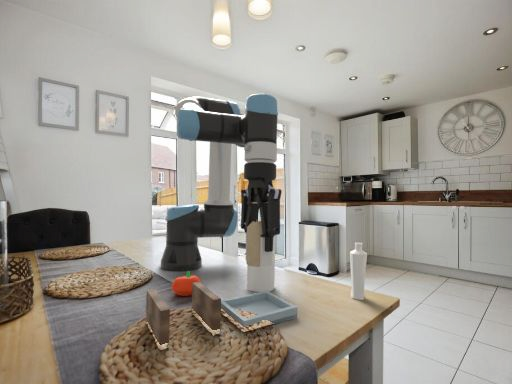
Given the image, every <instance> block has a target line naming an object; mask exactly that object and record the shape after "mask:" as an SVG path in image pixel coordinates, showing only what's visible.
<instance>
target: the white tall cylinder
mask: <svg viewBox="0 0 512 384" xmlns="http://www.w3.org/2000/svg"><path fill="white" fill-rule="evenodd" d="M275 262H276V235H275V236H274V237H273V251H272V266H265V267H254V266H249V265H247V264H246V265H247V266H246V269H247V270H246V289H247V290H249V291H251V292H255V293H259V292H264V291H268V292H272V291H274V289H275V277H276V276H275V274H276V273H275V270H276V268H275V267H276V266H275V265H276V263H275Z"/></svg>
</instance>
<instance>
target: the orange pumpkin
mask: <svg viewBox="0 0 512 384" xmlns="http://www.w3.org/2000/svg"><path fill="white" fill-rule="evenodd" d="M194 282H200V283H201V284H202V281H201V279H200V278H199V277H198V276H197V275H193V274H191V271H190V270H186V275H183V276H179V277H176V278H175V279H174V280H173V282H172V283H171V290H172V292H173V293H174V294H176V295H177V296H181V297H190V296H192V283H194Z"/></svg>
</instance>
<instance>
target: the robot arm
mask: <svg viewBox="0 0 512 384" xmlns="http://www.w3.org/2000/svg"><path fill="white" fill-rule="evenodd" d="M174 111H175V112H174V113H175V117H176V136H177V138H178V139H180V140H184V141H185V140H186V141H190V142H195V141H196V142H208V143H209V154H208V155H209V161H208V163H209V164H208V190H207V193H208V194H207V199H206V200H205V201H204V203H203V207H200V206H199V204H198V203H194V204H193V203H192V204H191V203H190V204H183V205H174V206H171V207H169V208H168V209H167V212H166V219H165V221H166V235H165V236H166V239H165V241H166V242H165V243H166V244H165V248H164V251H163V254H162V256H161V259H160V268H161V269H162V270H165V271H173V272H177V271H179V272H181V271H182V272H183V271H190V270H195V269H198V268H200V267H202V265H203V264H202V263H203V261H202V260H203V259H202V255H201V252H200V250H199V249H200V248H199V245H198V242H199V241H198V239H200V238H226V237H227V238H229V237H231V236H233V235H234V233H235V232H236V229H237V225H238V218H239V216H238V213H239V212H238V209H237V208H236V207H234V203H233V202H232V201H231V176H232V175H231V170H232V169H231V168H232V166H231V165H232V145H234V146H237V147H238V148H243V150H244V161H245V162H246V163H244V165H243V178H244V179H245V180H247V181H248V184H247V188H246V189H241V190H240V195H241V209H240V210H241V211H240V229H241V230H244V232H245V255H246V254H247V227H248V226H249V225H250V224H251V223H252V222H253V221H254V222H258V218H259V215H260V221H261V224H262V231H263V234H262V235H260V236H261V237H260V266H261V267H265V266H272V251H273V237H274V236H275V237H276V236H277V235H280V234H281V197H282V192H283V191H282V190H281V189H280V188H275V187H274V185H273V181H275V180H276V179H277V164H276V162H277V160H278V158H277V157H278V146H277V145H278V144H277V141H278V139H277V138H278V117H279V112H278V100H277V98H276V97H274V96H273V95H271V94H268V93H254V94H251V95H249V96H248V97H247V98H246V100H245V106H244V114H243V115H241V114H242V113H241V109H240V106H239V105H238V103H236V102H234V101H230V100H227V99H225V100H224V99H215V98H210V97H204V96H192V97H191V96H190V97H186V98H184V99H182V100H180V101H178V102H177V104H176V106H175V110H174ZM267 230H268V231H267Z"/></svg>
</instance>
